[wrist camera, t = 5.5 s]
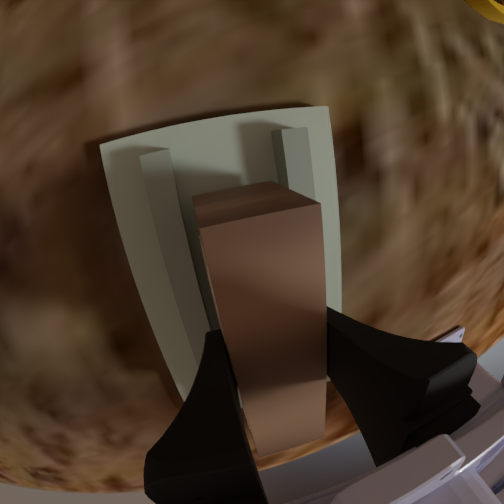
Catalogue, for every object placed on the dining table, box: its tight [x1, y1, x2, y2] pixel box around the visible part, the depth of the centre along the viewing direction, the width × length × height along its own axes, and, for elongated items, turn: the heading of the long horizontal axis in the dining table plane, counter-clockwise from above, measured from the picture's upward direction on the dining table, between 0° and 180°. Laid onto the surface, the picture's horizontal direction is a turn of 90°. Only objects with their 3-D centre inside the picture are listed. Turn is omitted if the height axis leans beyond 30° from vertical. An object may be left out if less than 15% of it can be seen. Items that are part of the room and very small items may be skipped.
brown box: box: [192, 181, 327, 457], centre depth 13 cm, size 12×4×5 cm, turn 9°
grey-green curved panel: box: [99, 106, 341, 408], centre depth 16 cm, size 18×11×2 cm, turn 9°
